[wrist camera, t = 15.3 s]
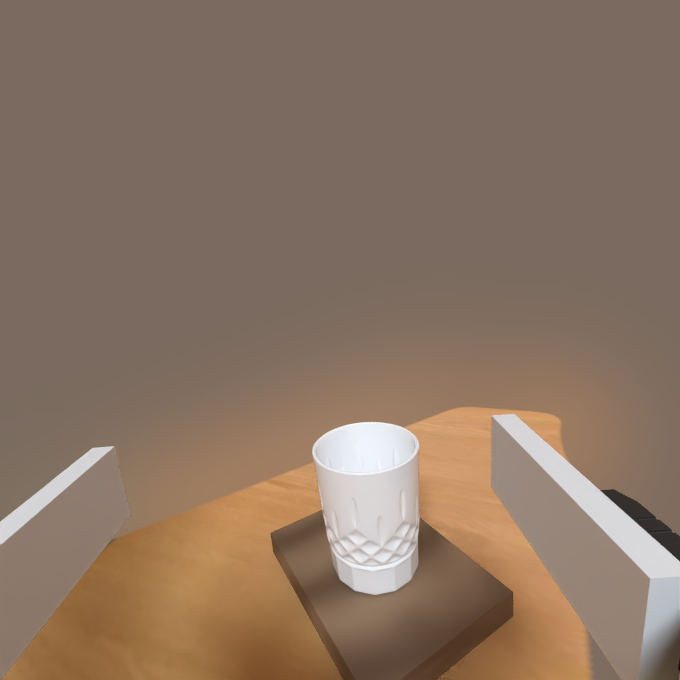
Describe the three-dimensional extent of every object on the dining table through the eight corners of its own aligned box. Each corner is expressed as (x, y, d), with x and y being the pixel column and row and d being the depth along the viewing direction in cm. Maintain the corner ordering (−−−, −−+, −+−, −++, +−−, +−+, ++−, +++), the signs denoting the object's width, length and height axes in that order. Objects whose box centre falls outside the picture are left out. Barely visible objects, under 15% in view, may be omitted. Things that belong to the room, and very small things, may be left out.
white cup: (314, 543, 32) (300, 436, 30) (395, 514, 35) (387, 414, 33) (347, 621, 25) (332, 486, 23) (447, 578, 27) (441, 453, 25)
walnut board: (273, 551, 34) (270, 532, 34) (379, 501, 40) (378, 484, 39) (372, 731, 20) (369, 703, 20) (513, 615, 26) (512, 591, 26)
